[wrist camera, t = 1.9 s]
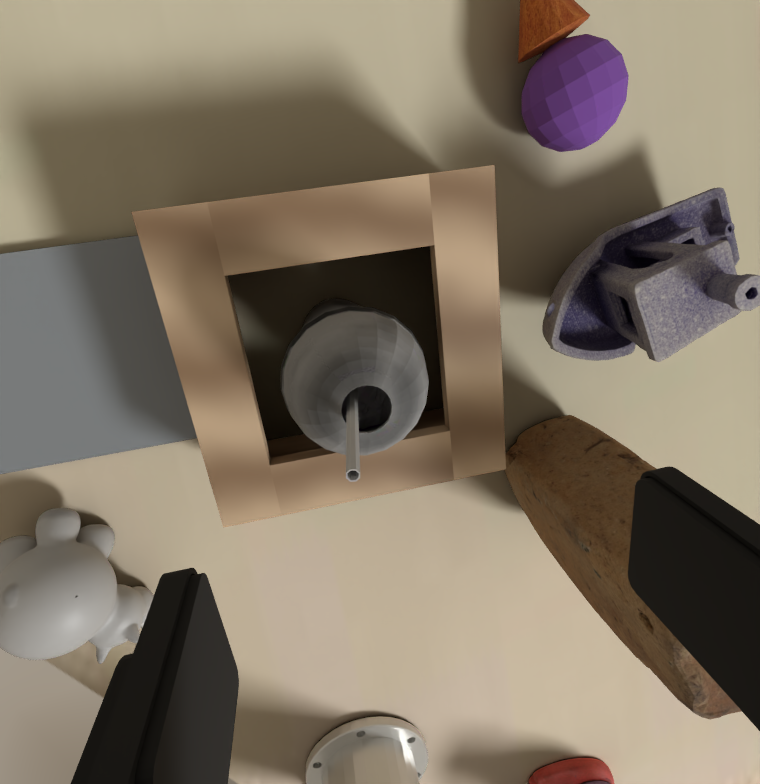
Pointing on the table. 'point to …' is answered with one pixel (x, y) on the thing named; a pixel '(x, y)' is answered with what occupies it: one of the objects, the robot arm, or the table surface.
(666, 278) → the toy boat
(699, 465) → the table surface
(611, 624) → the block
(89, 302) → the mat
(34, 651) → the chubby cartoon animal
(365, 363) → the beverage cup
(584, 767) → the stacking bear
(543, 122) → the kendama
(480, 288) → the box
